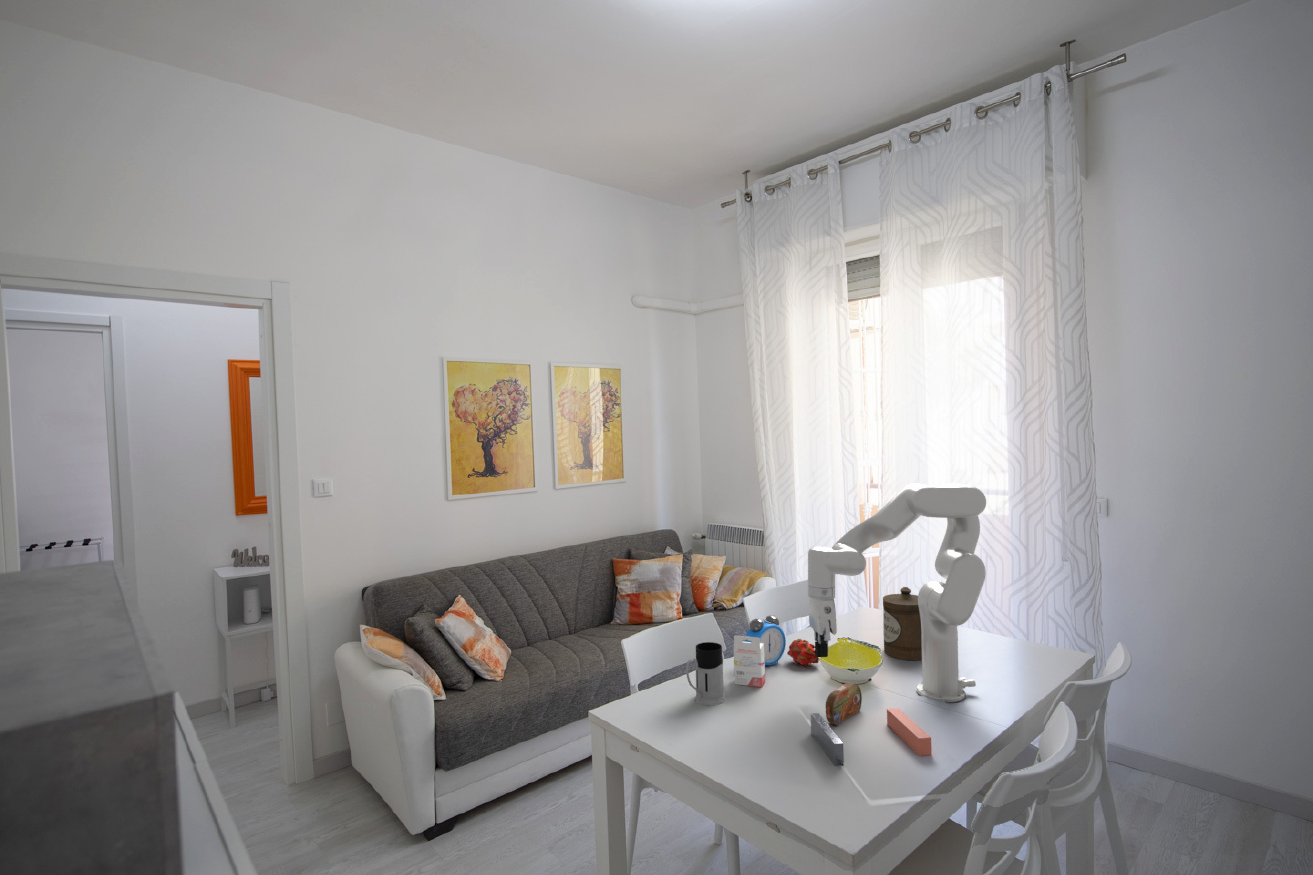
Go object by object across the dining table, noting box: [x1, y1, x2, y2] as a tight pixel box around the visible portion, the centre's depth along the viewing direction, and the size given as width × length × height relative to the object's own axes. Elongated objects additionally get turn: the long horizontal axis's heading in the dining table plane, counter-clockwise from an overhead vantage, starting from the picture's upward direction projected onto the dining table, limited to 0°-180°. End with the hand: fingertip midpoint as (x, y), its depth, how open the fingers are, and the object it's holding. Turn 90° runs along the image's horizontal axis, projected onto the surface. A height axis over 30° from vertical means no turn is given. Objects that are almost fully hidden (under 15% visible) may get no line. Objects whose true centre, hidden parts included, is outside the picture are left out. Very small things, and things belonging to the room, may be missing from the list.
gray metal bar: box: [810, 712, 845, 767], centre depth 156 cm, size 2×16×5 cm, turn 6°
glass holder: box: [685, 641, 726, 706], centre depth 184 cm, size 9×14×15 cm, turn 137°
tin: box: [825, 682, 863, 727], centre depth 171 cm, size 15×3×8 cm, turn 135°
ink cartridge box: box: [732, 634, 766, 688], centre depth 197 cm, size 9×5×15 cm, turn 68°
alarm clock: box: [743, 615, 787, 667], centre depth 212 cm, size 13×6×15 cm, turn 122°
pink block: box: [886, 707, 933, 757], centre depth 158 cm, size 3×16×4 cm, turn 6°
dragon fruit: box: [786, 638, 820, 668], centre depth 211 cm, size 8×8×12 cm
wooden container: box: [882, 586, 922, 661], centre depth 219 cm, size 15×15×22 cm
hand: (821, 656), depth 185 cm, fingers closed
